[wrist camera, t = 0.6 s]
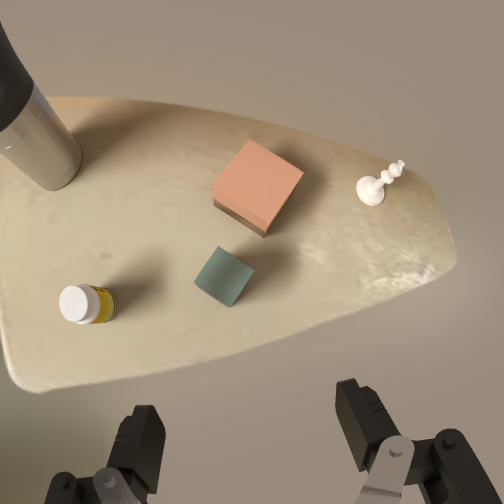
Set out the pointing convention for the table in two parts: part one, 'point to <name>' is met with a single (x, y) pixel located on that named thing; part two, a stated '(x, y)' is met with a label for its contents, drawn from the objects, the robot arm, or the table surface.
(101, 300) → the supplement bottle
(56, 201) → the table surface
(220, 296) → the green pillar block
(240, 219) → the walnut base block
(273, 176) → the terracotta top block
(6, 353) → the table surface
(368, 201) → the chess piece
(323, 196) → the table surface
